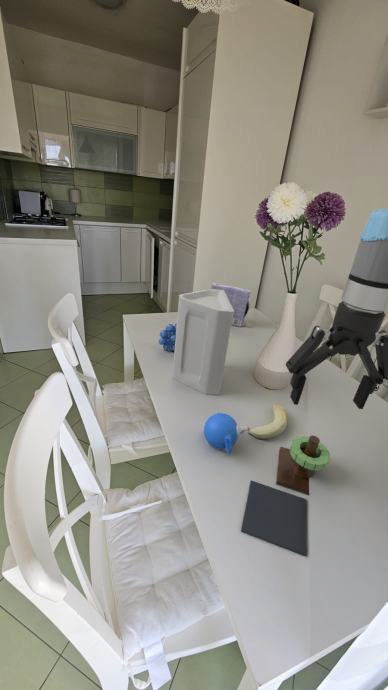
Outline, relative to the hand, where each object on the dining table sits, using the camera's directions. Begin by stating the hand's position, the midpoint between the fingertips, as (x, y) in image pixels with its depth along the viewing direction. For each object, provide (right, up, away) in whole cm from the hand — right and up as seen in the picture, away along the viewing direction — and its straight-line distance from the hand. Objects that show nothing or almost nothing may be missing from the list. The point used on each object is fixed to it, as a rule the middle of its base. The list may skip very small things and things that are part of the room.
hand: (325, 402), depth 63 cm
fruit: (-6, -11, +23) cm, 26 cm away
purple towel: (-12, +23, +85) cm, 89 cm away
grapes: (-35, +10, +55) cm, 66 cm away
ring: (-1, -13, +6) cm, 14 cm away
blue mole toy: (-19, -13, +15) cm, 28 cm away
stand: (-2, -18, +9) cm, 20 cm away
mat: (-11, -22, -1) cm, 25 cm away
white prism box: (-27, +1, +40) cm, 49 cm away
